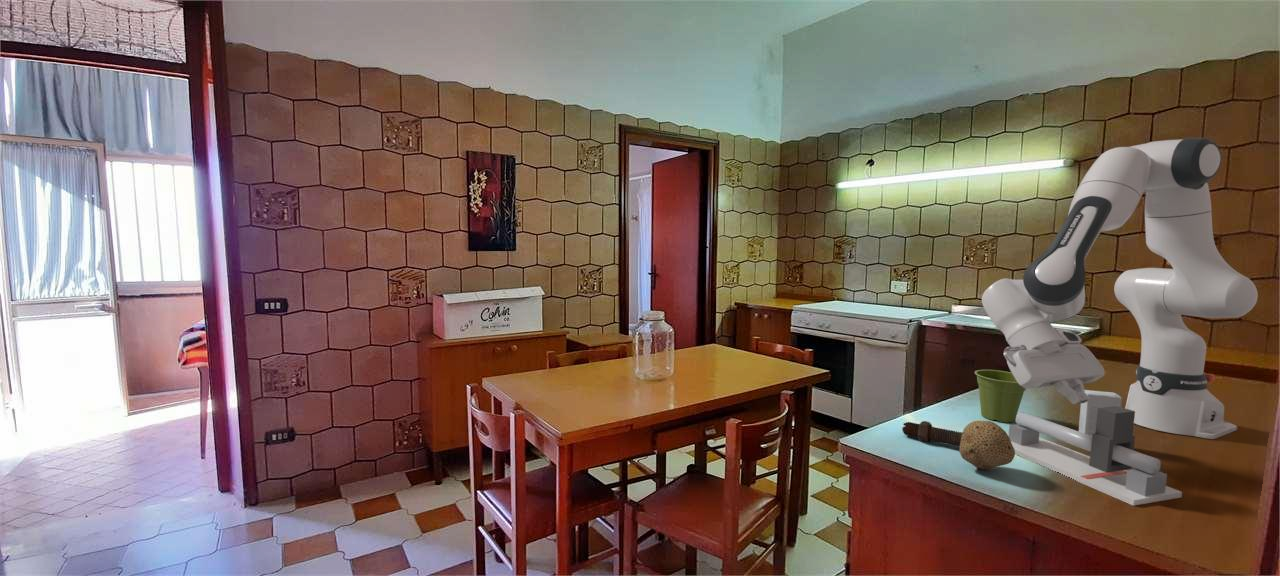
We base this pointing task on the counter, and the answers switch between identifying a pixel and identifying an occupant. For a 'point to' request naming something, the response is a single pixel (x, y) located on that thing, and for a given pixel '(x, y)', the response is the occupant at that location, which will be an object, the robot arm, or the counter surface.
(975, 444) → the natural sponge
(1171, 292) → the robot arm
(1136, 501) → the pipe stand
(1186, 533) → the counter surface
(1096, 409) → the skincare box
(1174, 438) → the counter surface
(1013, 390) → the plant pot
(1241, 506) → the counter surface
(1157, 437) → the counter surface
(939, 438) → the bolt
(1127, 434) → the collar
